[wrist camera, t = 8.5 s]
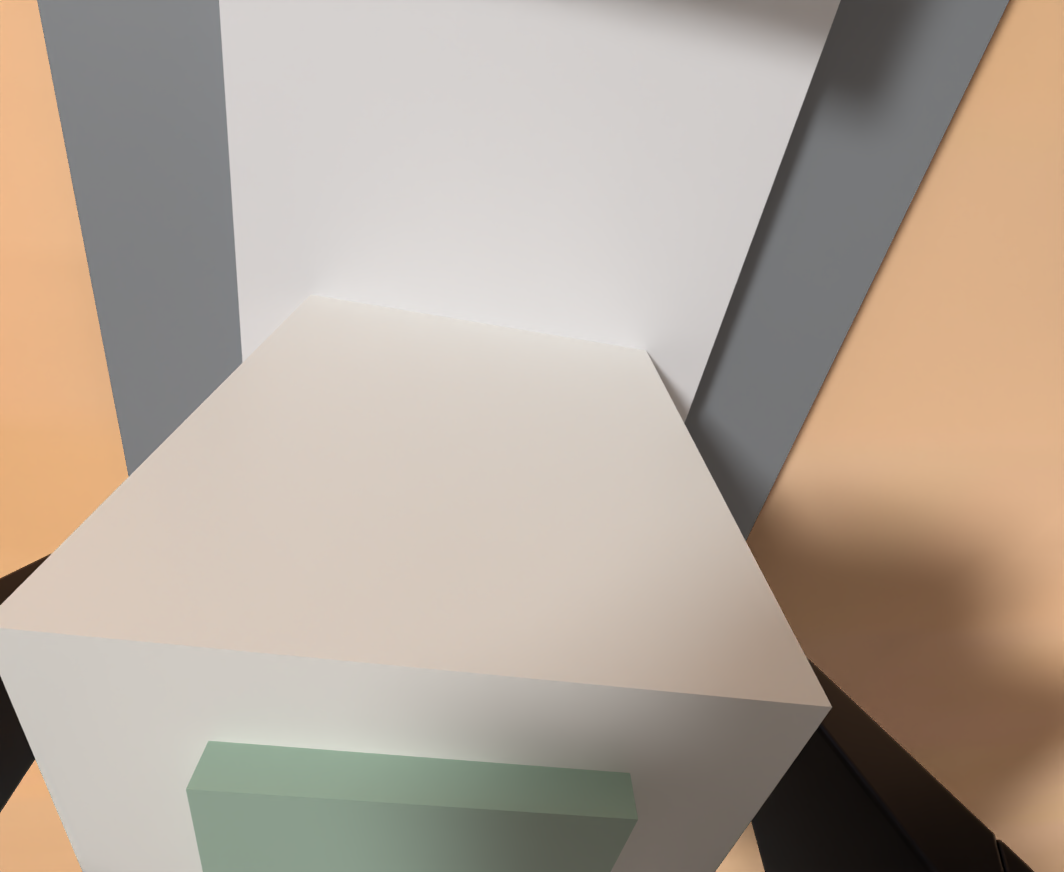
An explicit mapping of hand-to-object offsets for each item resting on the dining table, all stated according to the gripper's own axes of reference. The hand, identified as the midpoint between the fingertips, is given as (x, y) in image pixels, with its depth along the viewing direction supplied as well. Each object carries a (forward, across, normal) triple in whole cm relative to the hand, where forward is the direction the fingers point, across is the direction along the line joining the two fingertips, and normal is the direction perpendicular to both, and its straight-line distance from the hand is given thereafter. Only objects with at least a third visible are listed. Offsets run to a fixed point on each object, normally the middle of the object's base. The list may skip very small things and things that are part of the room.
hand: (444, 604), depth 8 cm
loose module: (+2, 0, 0) cm, 2 cm away
